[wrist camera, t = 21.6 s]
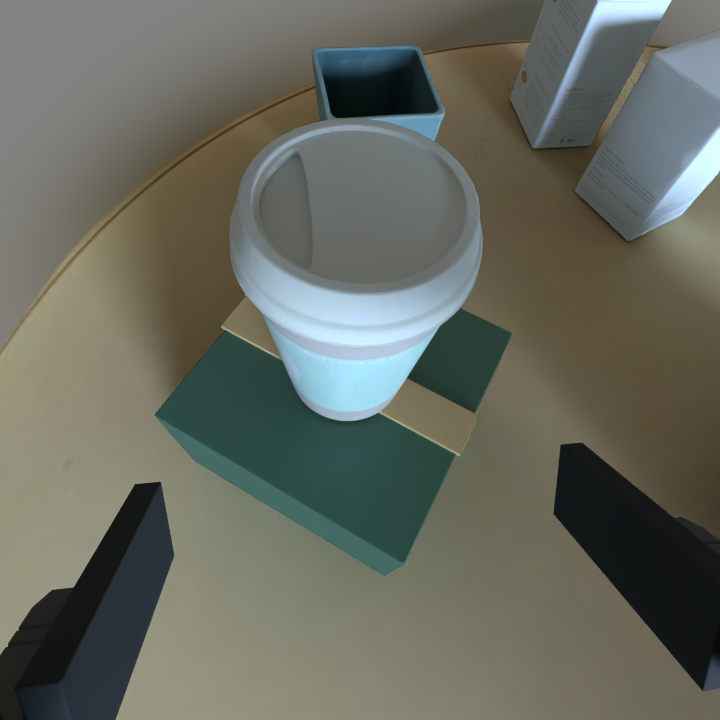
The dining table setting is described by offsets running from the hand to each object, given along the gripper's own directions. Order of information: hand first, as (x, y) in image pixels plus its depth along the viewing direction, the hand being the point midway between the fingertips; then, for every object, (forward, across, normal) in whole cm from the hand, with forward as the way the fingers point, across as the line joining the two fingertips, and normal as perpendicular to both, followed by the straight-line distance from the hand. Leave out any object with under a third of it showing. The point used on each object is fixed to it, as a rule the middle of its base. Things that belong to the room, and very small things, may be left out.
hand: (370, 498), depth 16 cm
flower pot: (+33, +5, +12) cm, 36 cm away
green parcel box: (+16, 0, -5) cm, 17 cm away
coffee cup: (+10, 0, +1) cm, 11 cm away
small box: (+38, +24, +17) cm, 48 cm away
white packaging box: (+30, +29, +9) cm, 42 cm away
